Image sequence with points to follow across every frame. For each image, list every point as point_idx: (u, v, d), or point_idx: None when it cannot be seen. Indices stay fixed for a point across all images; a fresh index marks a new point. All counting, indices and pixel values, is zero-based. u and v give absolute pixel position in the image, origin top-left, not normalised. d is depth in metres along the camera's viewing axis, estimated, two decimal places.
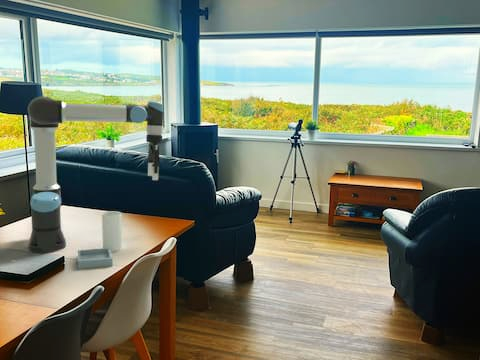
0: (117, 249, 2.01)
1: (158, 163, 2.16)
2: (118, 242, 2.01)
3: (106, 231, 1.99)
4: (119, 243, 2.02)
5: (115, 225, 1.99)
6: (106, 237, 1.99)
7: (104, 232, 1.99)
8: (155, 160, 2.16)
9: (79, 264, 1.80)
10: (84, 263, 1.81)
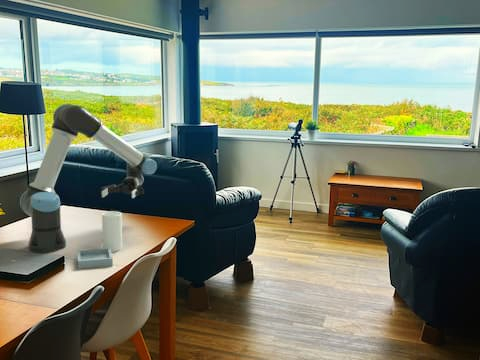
0: (117, 249, 2.01)
1: None
2: (118, 242, 2.01)
3: (106, 231, 1.99)
4: (119, 243, 2.02)
5: (115, 225, 1.99)
6: (106, 237, 1.99)
7: (104, 232, 1.99)
8: None
9: (79, 264, 1.80)
10: (84, 263, 1.81)
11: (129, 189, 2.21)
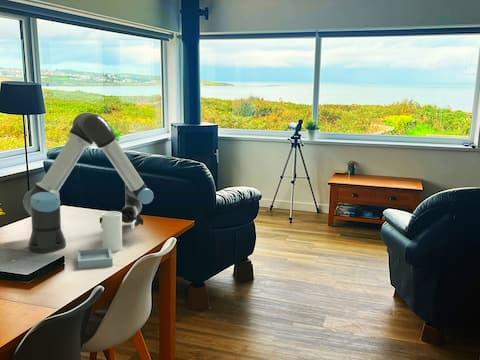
0: (117, 249, 2.01)
1: None
2: (118, 242, 2.01)
3: (106, 231, 1.99)
4: (119, 243, 2.02)
5: (115, 225, 1.99)
6: (106, 237, 1.99)
7: (104, 232, 1.99)
8: None
9: (79, 264, 1.80)
10: (84, 263, 1.81)
11: (128, 219, 2.20)
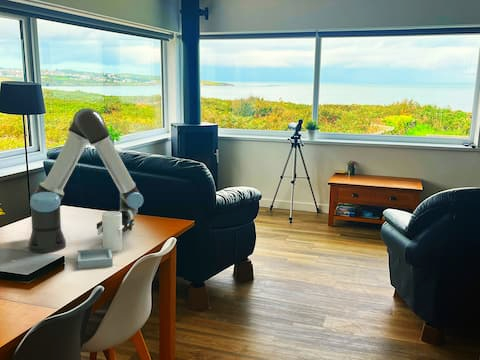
0: (117, 249, 2.01)
1: (131, 228, 2.06)
2: (118, 242, 2.01)
3: (106, 231, 1.99)
4: (119, 243, 2.02)
5: (115, 225, 1.99)
6: (106, 237, 1.99)
7: (104, 232, 1.99)
8: (131, 224, 2.07)
9: (79, 264, 1.80)
10: (84, 263, 1.81)
11: None
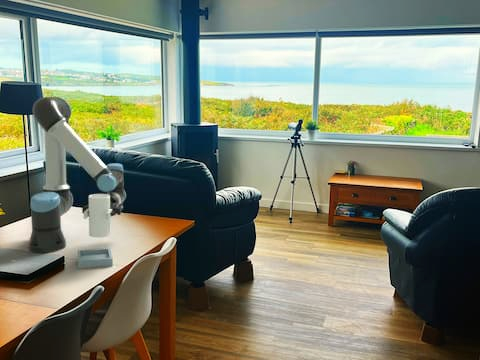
0: (105, 235, 1.86)
1: None
2: (106, 227, 1.86)
3: (93, 215, 1.83)
4: (107, 228, 1.86)
5: (103, 208, 1.84)
6: (93, 221, 1.84)
7: (91, 216, 1.84)
8: (120, 209, 1.92)
9: (79, 264, 1.80)
10: (84, 263, 1.81)
11: None
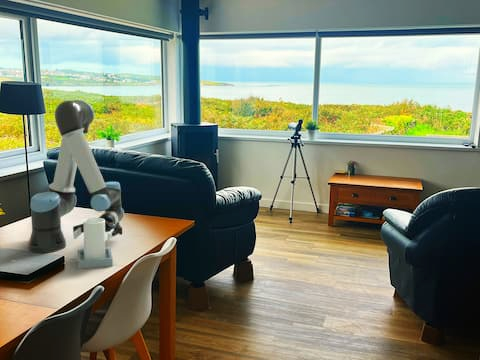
0: None
1: None
2: (101, 252, 1.85)
3: (87, 239, 1.83)
4: (102, 252, 1.86)
5: (98, 233, 1.83)
6: (87, 246, 1.83)
7: (85, 241, 1.84)
8: None
9: (79, 264, 1.80)
10: (84, 263, 1.81)
11: (106, 228, 1.95)
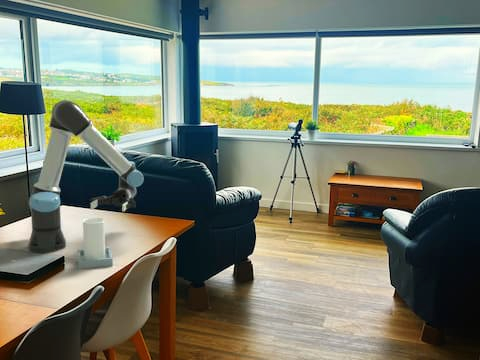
0: None
1: None
2: (101, 252, 1.85)
3: (87, 240, 1.83)
4: (102, 252, 1.86)
5: (97, 233, 1.83)
6: (87, 246, 1.83)
7: (85, 241, 1.84)
8: None
9: (79, 264, 1.80)
10: (84, 263, 1.81)
11: (120, 201, 2.10)
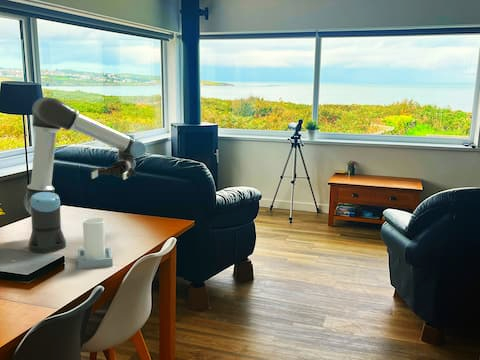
0: None
1: None
2: (101, 252, 1.85)
3: (87, 239, 1.83)
4: (102, 252, 1.86)
5: (97, 233, 1.83)
6: (87, 246, 1.83)
7: (85, 241, 1.84)
8: None
9: (79, 264, 1.80)
10: (84, 263, 1.81)
11: (120, 171, 2.13)
